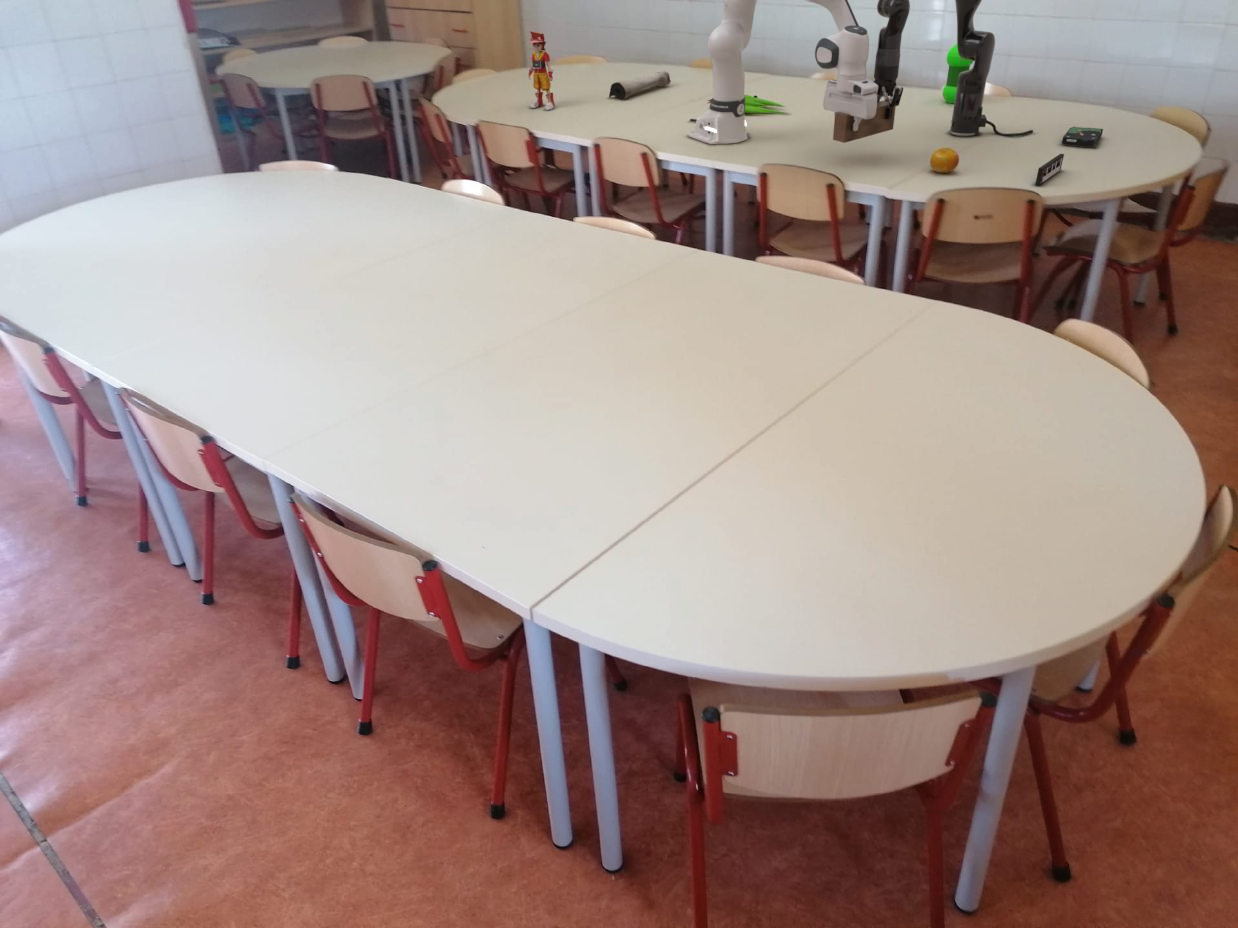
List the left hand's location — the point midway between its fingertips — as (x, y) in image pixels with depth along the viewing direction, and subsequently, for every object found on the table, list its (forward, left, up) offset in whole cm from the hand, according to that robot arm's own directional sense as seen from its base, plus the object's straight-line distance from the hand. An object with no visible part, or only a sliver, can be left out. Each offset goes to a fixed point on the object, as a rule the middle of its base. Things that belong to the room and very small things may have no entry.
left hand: (846, 128), depth 290 cm
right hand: (+2, +16, +1) cm, 16 cm away
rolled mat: (-132, +33, -11) cm, 137 cm away
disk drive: (+47, +68, -11) cm, 84 cm away
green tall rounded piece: (-14, +92, -11) cm, 94 cm away
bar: (+1, +8, -3) cm, 9 cm away
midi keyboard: (+57, +26, -11) cm, 64 cm away
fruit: (+29, +12, -11) cm, 34 cm away
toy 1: (-147, -11, -11) cm, 148 cm away
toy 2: (-70, +36, -11) cm, 80 cm away
